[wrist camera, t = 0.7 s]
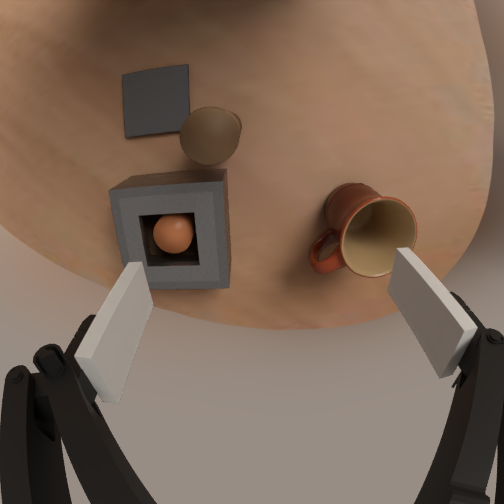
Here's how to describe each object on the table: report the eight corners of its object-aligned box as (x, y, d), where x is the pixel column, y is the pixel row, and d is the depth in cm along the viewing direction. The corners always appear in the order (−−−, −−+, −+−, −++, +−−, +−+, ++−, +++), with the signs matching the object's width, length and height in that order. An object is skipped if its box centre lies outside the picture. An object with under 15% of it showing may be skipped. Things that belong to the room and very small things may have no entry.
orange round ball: (157, 208, 33) (150, 217, 31) (194, 206, 33) (189, 215, 31) (162, 243, 35) (156, 253, 33) (197, 241, 35) (193, 252, 33)
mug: (362, 162, 34) (401, 181, 25) (388, 217, 37) (426, 250, 28) (282, 210, 37) (295, 245, 27) (315, 262, 40) (334, 307, 31)
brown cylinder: (207, 112, 31) (178, 109, 17) (241, 110, 31) (238, 105, 17) (209, 143, 33) (181, 166, 18) (242, 142, 33) (240, 163, 18)
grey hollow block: (131, 176, 34) (108, 190, 28) (226, 168, 34) (222, 181, 28) (145, 261, 39) (129, 289, 33) (231, 259, 39) (229, 288, 33)
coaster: (124, 75, 28) (122, 74, 28) (188, 65, 28) (187, 64, 28) (127, 137, 32) (125, 137, 31) (190, 129, 32) (189, 129, 31)
